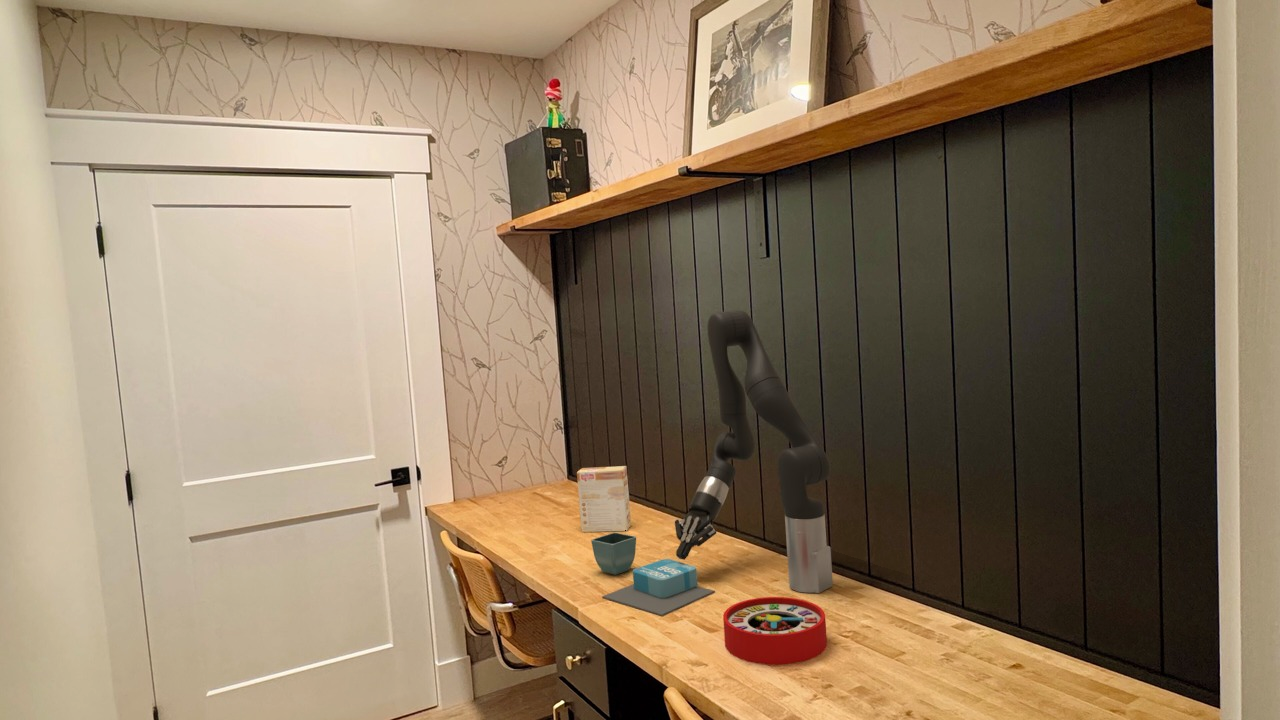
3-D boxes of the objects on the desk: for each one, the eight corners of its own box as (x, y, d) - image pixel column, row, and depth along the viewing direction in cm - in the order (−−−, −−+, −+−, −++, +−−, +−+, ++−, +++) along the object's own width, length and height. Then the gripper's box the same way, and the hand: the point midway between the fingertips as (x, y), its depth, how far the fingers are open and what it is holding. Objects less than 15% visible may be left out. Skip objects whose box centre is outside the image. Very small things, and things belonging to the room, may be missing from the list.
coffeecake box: (631, 525, 253) (627, 465, 252) (627, 531, 246) (622, 469, 245) (586, 526, 256) (581, 467, 255) (581, 532, 249) (576, 471, 248)
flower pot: (617, 564, 214) (614, 531, 214) (639, 569, 208) (637, 536, 208) (592, 573, 208) (590, 539, 208) (615, 579, 202) (612, 544, 201)
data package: (699, 567, 191) (661, 580, 183) (700, 585, 191) (663, 599, 184) (666, 557, 200) (629, 570, 193) (667, 575, 200) (631, 588, 193)
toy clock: (726, 597, 168) (822, 596, 164) (728, 624, 168) (824, 623, 165) (719, 635, 148) (828, 635, 145) (721, 665, 148) (830, 666, 145)
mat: (714, 592, 187) (714, 590, 187) (662, 616, 174) (662, 614, 174) (655, 576, 201) (654, 575, 201) (602, 598, 189) (602, 596, 189)
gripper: (682, 487, 205) (652, 545, 198) (721, 493, 196) (691, 554, 188) (697, 503, 209) (669, 560, 202) (736, 509, 200) (708, 570, 192)
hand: (680, 557), depth 195 cm, fingers closed
